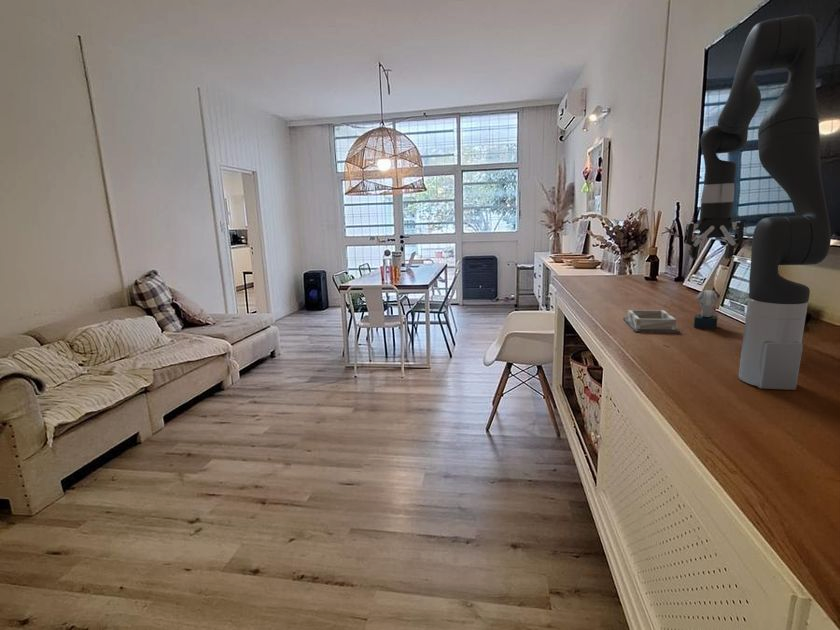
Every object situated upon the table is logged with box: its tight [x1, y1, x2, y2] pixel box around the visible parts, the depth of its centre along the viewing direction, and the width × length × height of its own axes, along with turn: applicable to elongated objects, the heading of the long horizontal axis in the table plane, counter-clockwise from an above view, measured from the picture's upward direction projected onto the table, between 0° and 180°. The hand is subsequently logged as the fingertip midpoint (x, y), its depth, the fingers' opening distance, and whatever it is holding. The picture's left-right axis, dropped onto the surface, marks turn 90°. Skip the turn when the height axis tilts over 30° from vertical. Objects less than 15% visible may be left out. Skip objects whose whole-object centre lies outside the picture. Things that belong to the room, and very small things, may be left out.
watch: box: [693, 289, 718, 330], centre depth 130 cm, size 6×8×11 cm
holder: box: [622, 309, 681, 334], centre depth 134 cm, size 16×12×4 cm
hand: (710, 258), depth 126 cm, fingers open, 8 cm apart
